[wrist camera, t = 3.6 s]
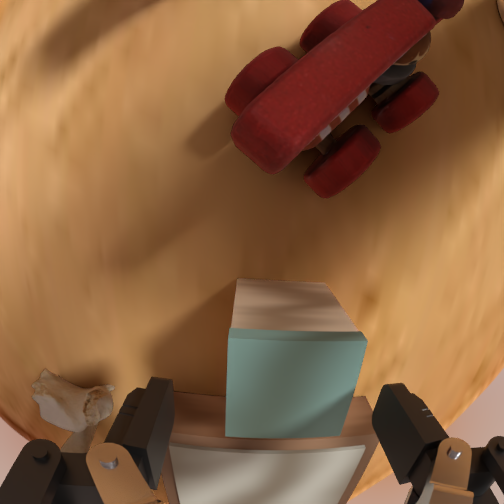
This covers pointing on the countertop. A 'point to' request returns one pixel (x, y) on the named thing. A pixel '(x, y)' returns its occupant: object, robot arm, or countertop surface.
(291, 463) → the base slab
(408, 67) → the toy fire truck
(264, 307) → the maple block
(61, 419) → the bone
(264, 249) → the countertop surface
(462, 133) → the countertop surface
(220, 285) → the countertop surface
